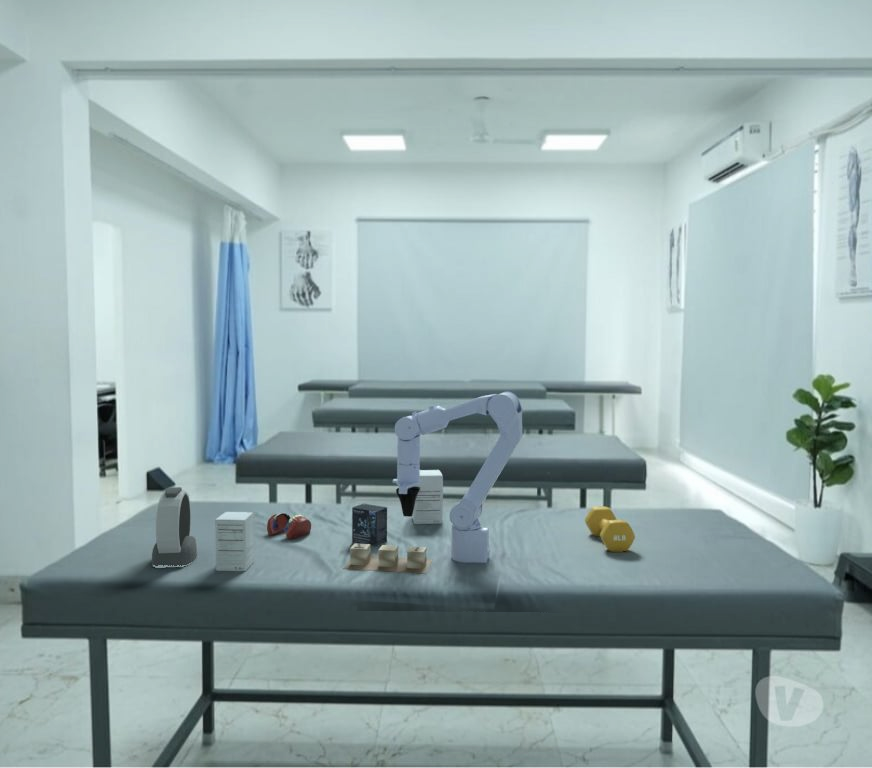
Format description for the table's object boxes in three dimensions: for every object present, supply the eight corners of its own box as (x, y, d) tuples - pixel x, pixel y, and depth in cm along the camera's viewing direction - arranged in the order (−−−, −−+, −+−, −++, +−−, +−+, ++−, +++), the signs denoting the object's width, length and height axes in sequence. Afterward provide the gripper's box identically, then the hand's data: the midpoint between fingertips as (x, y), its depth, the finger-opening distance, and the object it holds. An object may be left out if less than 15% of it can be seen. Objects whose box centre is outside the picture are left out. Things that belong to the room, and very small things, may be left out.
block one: (426, 563, 165) (426, 546, 164) (423, 568, 161) (423, 551, 160) (410, 562, 165) (410, 545, 165) (407, 567, 161) (407, 550, 161)
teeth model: (283, 506, 199) (314, 512, 193) (284, 527, 199) (315, 534, 193) (262, 514, 192) (294, 520, 185) (263, 535, 192) (294, 543, 186)
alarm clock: (189, 569, 162) (188, 494, 161) (144, 571, 160) (143, 495, 159) (201, 549, 178) (200, 480, 177) (161, 551, 176) (159, 481, 175)
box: (351, 546, 182) (351, 507, 181) (363, 540, 187) (363, 502, 186) (375, 550, 178) (375, 511, 177) (387, 545, 183) (387, 506, 182)
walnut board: (432, 563, 168) (432, 559, 167) (425, 577, 158) (425, 573, 158) (354, 559, 170) (354, 555, 170) (342, 572, 161) (342, 568, 161)
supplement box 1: (225, 561, 168) (224, 511, 168) (255, 561, 168) (254, 511, 167) (215, 571, 161) (214, 519, 160) (245, 571, 161) (245, 519, 160)
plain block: (398, 561, 166) (398, 545, 165) (394, 567, 162) (394, 550, 162) (382, 560, 166) (382, 544, 166) (378, 566, 162) (378, 549, 162)
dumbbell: (583, 533, 196) (584, 505, 195) (614, 533, 196) (614, 505, 196) (602, 553, 177) (603, 523, 176) (636, 553, 177) (637, 522, 177)
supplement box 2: (411, 517, 212) (411, 469, 211) (439, 516, 213) (439, 469, 212) (413, 524, 203) (413, 475, 202) (443, 524, 204) (443, 475, 203)
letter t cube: (370, 560, 167) (370, 543, 166) (366, 565, 163) (366, 548, 163) (354, 559, 167) (354, 543, 167) (350, 564, 163) (350, 547, 163)
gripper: (398, 457, 180) (398, 508, 181) (386, 467, 165) (386, 522, 166) (425, 458, 179) (424, 509, 180) (415, 469, 164) (414, 524, 165)
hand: (407, 515), depth 173 cm, fingers closed
